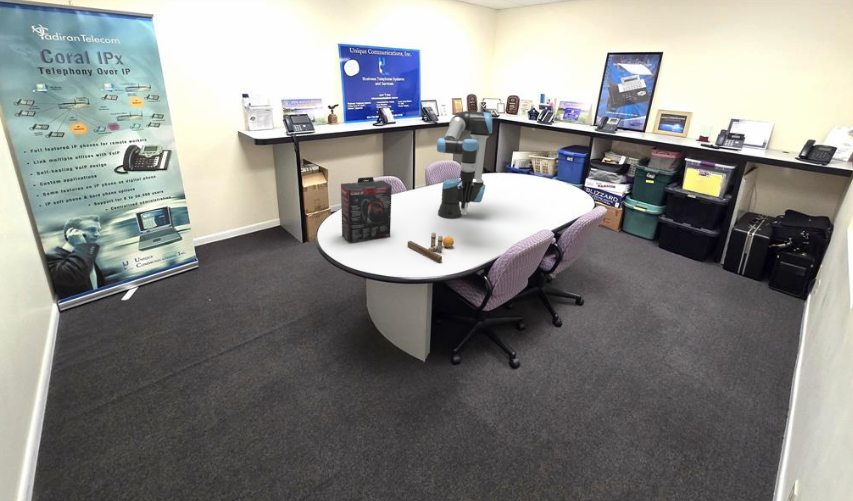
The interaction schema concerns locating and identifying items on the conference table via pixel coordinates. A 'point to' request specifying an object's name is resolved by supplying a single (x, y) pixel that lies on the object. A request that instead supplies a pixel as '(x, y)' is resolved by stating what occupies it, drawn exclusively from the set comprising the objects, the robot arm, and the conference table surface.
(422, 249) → the back wall
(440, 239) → the pin
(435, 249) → the front pin
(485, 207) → the conference table surface
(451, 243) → the ball
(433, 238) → the pin
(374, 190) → the headset box
